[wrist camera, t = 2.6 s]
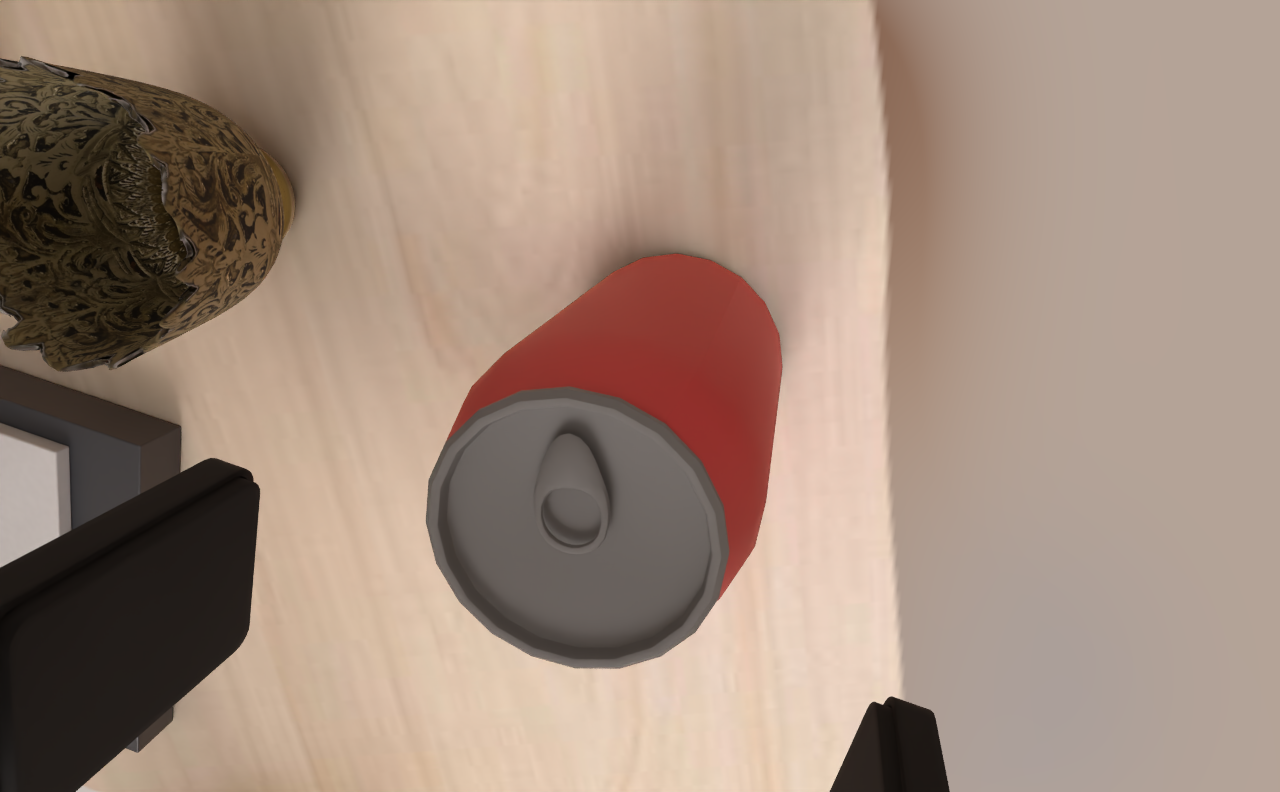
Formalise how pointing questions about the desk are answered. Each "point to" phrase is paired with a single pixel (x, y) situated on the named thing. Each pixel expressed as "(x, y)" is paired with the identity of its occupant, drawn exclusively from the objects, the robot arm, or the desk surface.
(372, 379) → the desk surface
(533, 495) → the beer can
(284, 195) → the ornate brass lampshade
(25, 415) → the scale
